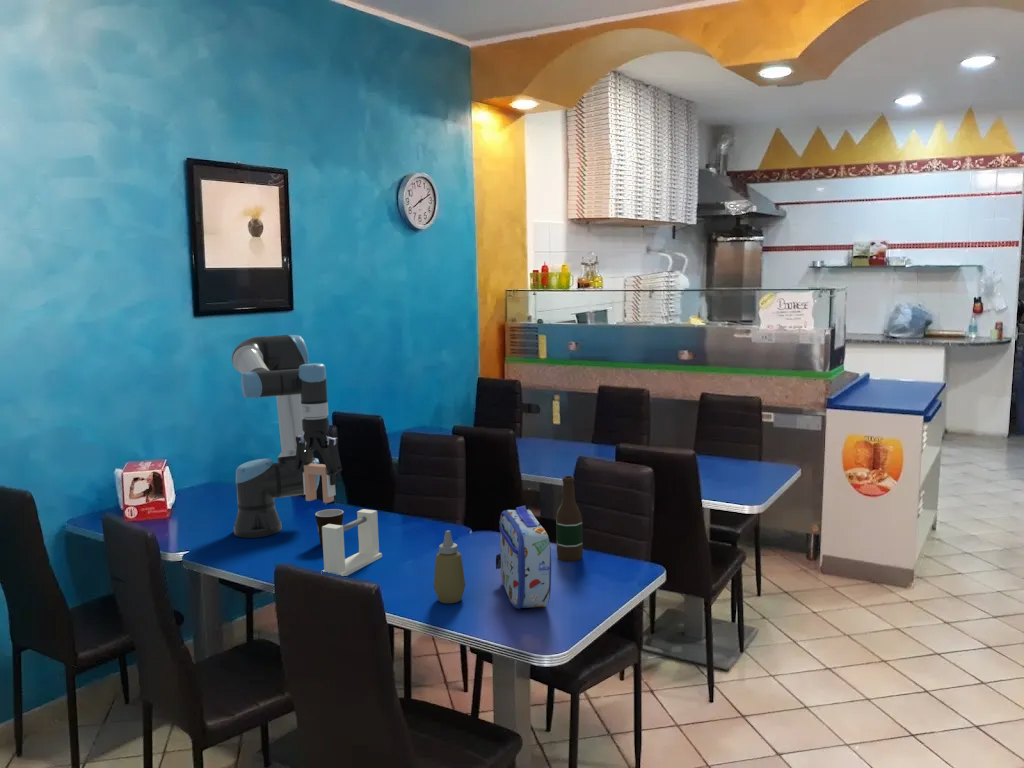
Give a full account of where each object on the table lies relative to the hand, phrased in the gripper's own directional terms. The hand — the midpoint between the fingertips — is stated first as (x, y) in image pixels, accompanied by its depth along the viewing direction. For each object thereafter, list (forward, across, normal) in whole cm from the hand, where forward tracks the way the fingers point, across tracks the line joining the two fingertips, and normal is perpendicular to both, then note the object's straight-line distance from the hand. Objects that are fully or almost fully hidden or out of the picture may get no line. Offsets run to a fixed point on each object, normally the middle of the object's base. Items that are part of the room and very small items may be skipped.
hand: (319, 494), depth 241 cm
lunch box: (+21, +66, 0) cm, 69 cm away
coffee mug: (+20, -9, +15) cm, 26 cm away
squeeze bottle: (+21, +50, -10) cm, 55 cm away
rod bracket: (+20, +11, 0) cm, 23 cm away
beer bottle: (+21, +65, +31) cm, 75 cm away
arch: (+2, 0, 0) cm, 2 cm away
